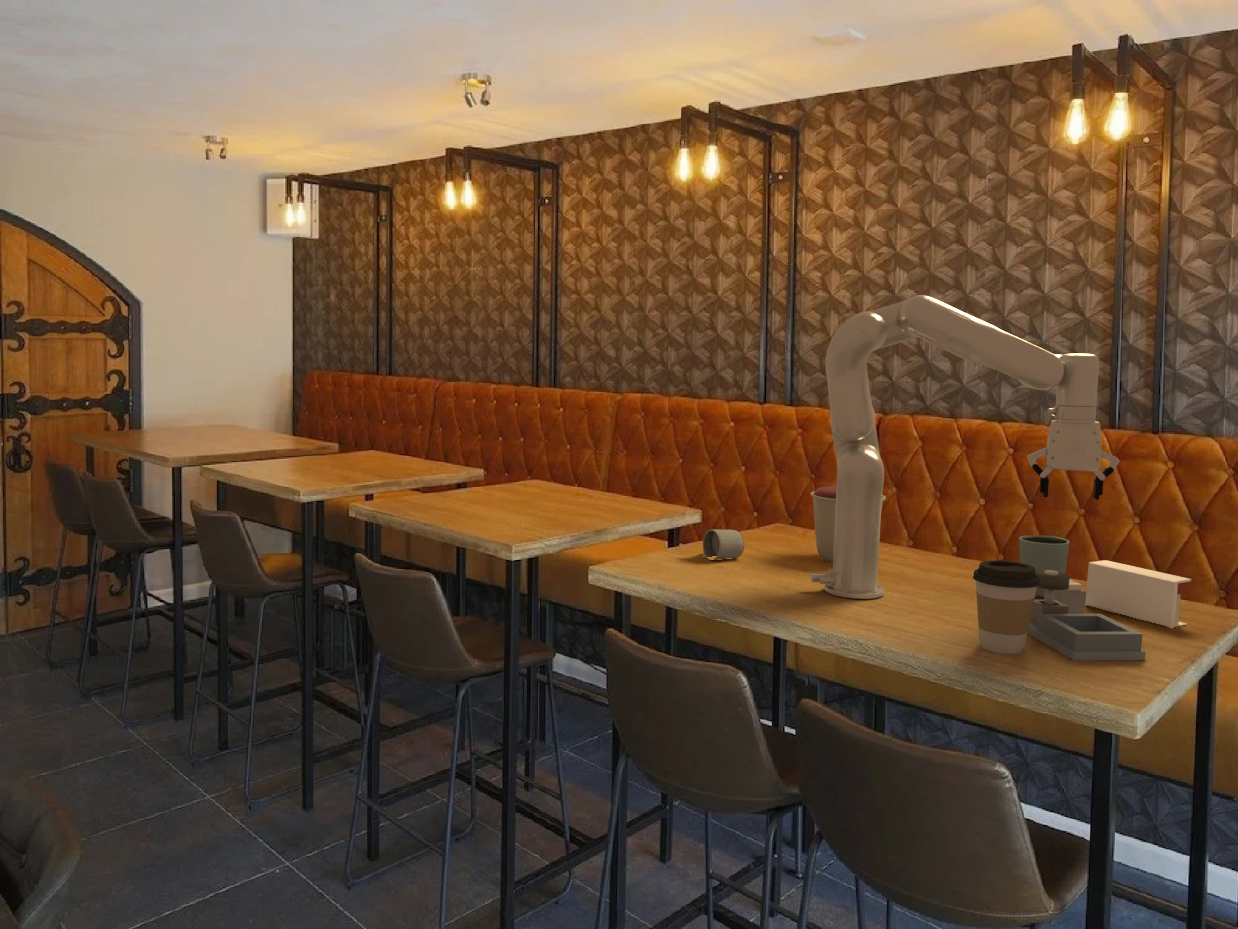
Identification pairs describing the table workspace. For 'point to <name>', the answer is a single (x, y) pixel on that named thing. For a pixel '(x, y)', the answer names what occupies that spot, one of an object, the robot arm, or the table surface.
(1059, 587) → the round knob on base
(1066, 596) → the beige block
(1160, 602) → the beige beam
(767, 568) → the table surface
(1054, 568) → the green tumbler
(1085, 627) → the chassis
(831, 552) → the canister
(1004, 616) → the coffee cup
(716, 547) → the ceramic mug
